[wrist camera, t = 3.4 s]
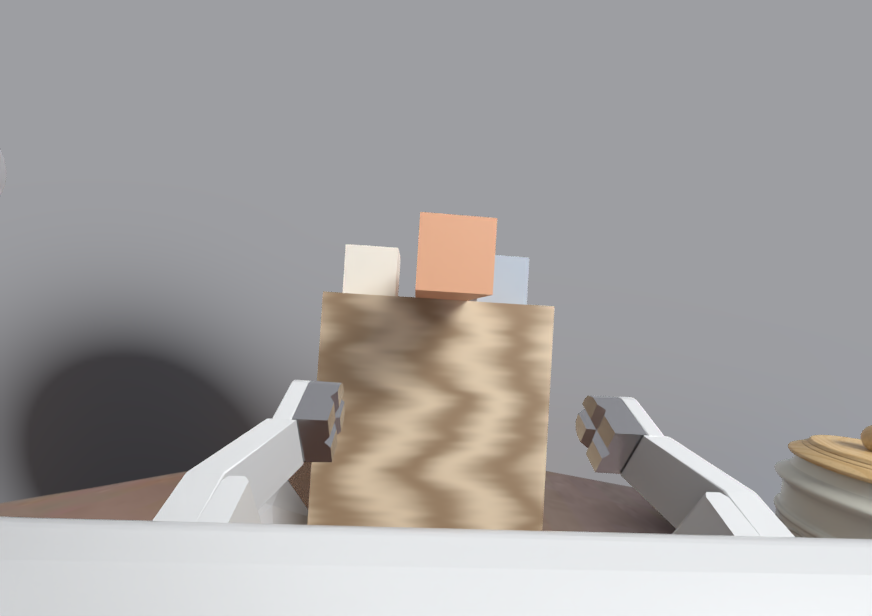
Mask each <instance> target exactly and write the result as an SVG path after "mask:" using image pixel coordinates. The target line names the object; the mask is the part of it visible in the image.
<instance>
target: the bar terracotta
mask: <svg viewBox="0 0 872 616" xmlns="http://www.w3.org/2000/svg"><path fill="white" fill-rule="evenodd" d="M496 230H497V218H489V217H476V216H463V215H451V214H439V213H426V212H420V226H419V242H418V259H417V275H416V298H430V299H445V300H461V301H469V300H473V299H477V298H481V297H486V296H490V295H493V282H494V264H495V247H496V246H495V245H496Z"/></svg>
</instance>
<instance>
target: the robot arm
mask: <svg viewBox="0 0 872 616" xmlns="http://www.w3.org/2000/svg"><path fill="white" fill-rule="evenodd" d="M5 182H6V166H5V161H4V157H3V154H2V152H1V149H0V196H1V193H2V192H3V189H4V186H5ZM343 393H344V389H343V384H342V383H337V382H324V381H305V380H294V381H293V382H292V383H291V384H290V386H289V388H288V390H287V392H286V394H285V396H284V398H283V400H282V401H281V403H280V405H279V407H278V409H277V411H276V413H275V414H274V416H273V418H272V419H266V420H264V421H263V422H261V423H260V424H258V425H257V426H255V427H254V428H252V429H251V430H249V431H248V432H246V433H245V434H243V435H242V436H240V437H239V438H237V439H236V440H234V441H233V442H231V443H230V444H228V445H227V446H226V447H224V448H222V449H221V450H220V451H218V452H216V453H215V454H213V455H212V456H210V457H209V458H207V459H206V460H204V461H203V462H201V463H200V464H198V465H197V466H195V467H194V468H192V469H191V470H189V471H188V472H186V474H185V475H184V477H183V478H182V479H181V481H180V482H179V484H178V485H177V487H176V488H175V489H174V491H173V492H172V494H171V495H170V497H169V498H168V499H167V501H166V502H165V504H164V505H163V506H162V508H161V509H160V511H159V512H158V514H157V515H156V516H155V518H154V519H153V521H140V520H101V519H62V518H24V517H0V616H872V539H846V538H806V537H795V536H794V535H793V534H792V533H791V532H790V531H789V530H788V529H787V527H786V526H785V525H784V524H783V523H782V522H781V521H780V520H779V518H778V517H777V516H776V515H775V514H774V513H773V512H772V511H771V510H770V508H769V507H768V506H767V505H766V504H765V503H764V502H763V501H762V499H761V498H760V497H759V496H758V495H757V494H756V493H755V492H754V491H752V490H751V489H749V488H748V487H746V486H744V485H743V484H741V483H740V482H738V481H737V480H735V479H734V478H732V477H730V476H729V475H727V474H725V473H724V472H723V471H721V470H720V469H718V468H717V467H715V466H714V465H712V464H710V463H709V462H707V461H706V460H704V459H703V458H701V457H700V456H698V455H697V454H695V453H693V452H692V451H690V450H689V449H687V448H686V447H684V446H683V445H681V444H680V443H678V442H677V441H675V440H673V439H672V438H670V437H667V436H666V437H665V436H664V435H663V434H662V433H661V431H660V430H659V429H658V427H657V426H656V425H655V424H654V422H653V421H652V420H651V418H650V417H649V416H648V414H647V413H646V412H645V410H644V409H643V408H642V407H641V405H640V404H639V403H638V401H637V400H636V399H634V398H633V397H609V396H608V397H607V396H587V397H586V398H585V400H584V402H583V406H584V408H585V409H584V410H583V411H581V412H580V413H579V414H578V416H577V419H576V431H577V436H578V438H579V440H580V442H581V443H583V444H584V445H585V446H586V447H587V448H588V449H587V453H586V454H587V457H588V458H589V461H590V463H591V465H592V467H593V469H594V471H595V472H600V473H616V474H621V476H622V477H623V478H624V479H625V480H626V481H627V482H628V483H629V484H630V485H631V486H632V487H633V488H634V489H636V490H637V491H638V492H639V493H640V494H641V495H642V496H643V497H644V498H645V499H646V500H647V501H648V502H649V503H650V504H651V505H652V506H653V507H654V508H655V509H656V510H657V511H658V512H659V513H660V514H661V515H662V516H663V517H664V518H666V519H667V520H668V521H669V522H670V523H671V524H672V525H673V526H674V527H675V528H676V530H675V531H674V532H673V533H672V534H650V533H610V532H569V531H529V530H489V529H451V528H412V527H373V526H334V525H295V524H262V523H261V520H260V516H259V513H258V510H259V509H260V508H261V507H262V506H263V505H264V504H265V503H266V502H267V501H268V500H269V499H270V498H271V497H272V496H273V495H274V494H275V493H276V491H277V490H278V489H279V488H280V487H281V486H282V485H283V484H284V483H285V482H286V481H287V480H288V479H289V478H290V477H291V476H292V475H293V474H294V473H295V472H296V471H297V470H298V469H299V468H300V467H301V466H302V465H303V462H332V461H333V457H334V454H335V451H336V447H337V444H338V443H337V435H338V434H339V433H340V432H341V430H342V426H343V421H344V415H345V402H344V401H343V400H342V396H343Z"/></svg>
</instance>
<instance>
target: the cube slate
mask: <svg viewBox="0 0 872 616" xmlns="http://www.w3.org/2000/svg"><path fill="white" fill-rule="evenodd" d="M528 271H529V258H527V257H514V256H500V255H495V264H494V282H493V295H490V296H486V297H481V298H477V299H473V300H469V301H476V302H492V303H507V304H523V305H527V289H528V288H527V287H528Z"/></svg>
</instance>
